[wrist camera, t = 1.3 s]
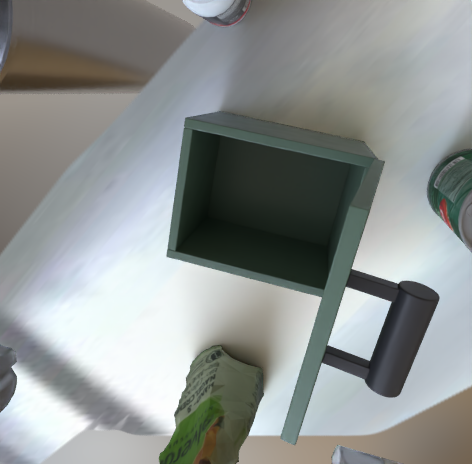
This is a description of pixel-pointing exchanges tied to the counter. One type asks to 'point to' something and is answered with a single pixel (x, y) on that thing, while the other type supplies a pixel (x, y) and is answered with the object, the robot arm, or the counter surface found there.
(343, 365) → the lid
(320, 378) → the counter surface
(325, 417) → the counter surface
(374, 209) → the counter surface
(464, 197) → the canned tomato
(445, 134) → the counter surface
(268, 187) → the chest
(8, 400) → the robot arm
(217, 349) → the pouch
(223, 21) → the pill bottle
